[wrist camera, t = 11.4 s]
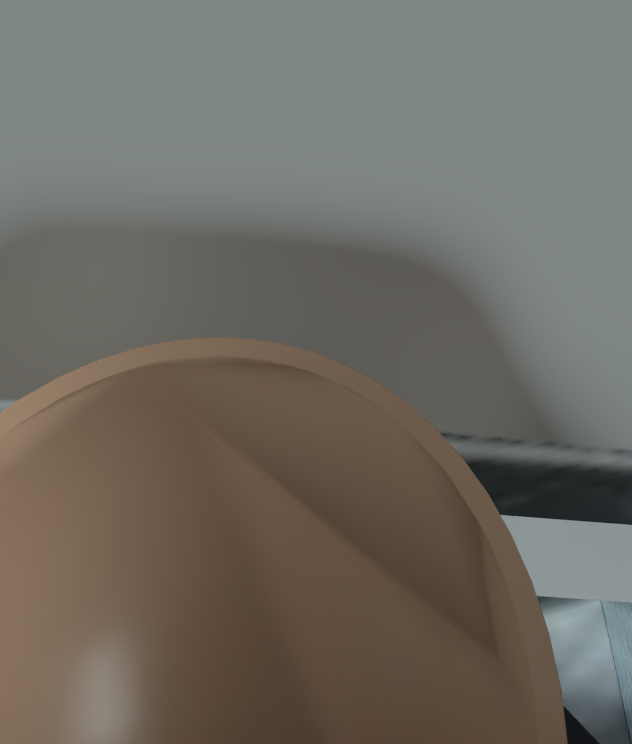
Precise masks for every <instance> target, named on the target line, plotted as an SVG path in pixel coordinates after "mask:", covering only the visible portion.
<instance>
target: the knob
mask: <svg viewBox="0 0 632 744" xmlns="http://www.w3.org/2000/svg"><path fill="white" fill-rule="evenodd" d="M0 744H568V743H567V734H566V726H565V717H564V709H563V700H562V692H561V687H560V683H559V678H558V673H557V669H556V664H555V660H554V655H553V650H552V646H551V641H550V637H549V632H548V629H547V626H546V623H545V620H544V617H543V614H542V611H541V608H540V605H539V602H538V598H537V595H536V592H535V589H534V586H533V583H532V580H531V578H530V576H529V573H528V571H527V569H526V567H525V564H524V562H523V560H522V557H521V555H520V553H519V551H518V548H517V546H516V544H515V542H514V539H513V537H512V535H511V533H510V531H509V529H508V528H507V526H506V524H505V522H504V521H503V519H502V517H501V515H500V514H499V512H498V510H497V508H496V507H495V505H494V503H493V501H492V500H491V498H490V496H489V494H488V493H487V491H486V490H485V489H484V487H483V486H482V484H481V483H480V482H479V480H478V479H477V478H476V476H475V475H474V473H473V472H472V471H471V469H470V468H469V466H468V465H467V464H466V462H465V461H464V459H463V458H462V457H461V456H460V455H459V454H458V453H457V452H456V450H455V449H454V448H453V447H452V446H451V445H450V444H449V443H448V442H447V440H446V439H445V438H444V437H443V436H442V435H441V434H440V433H439V432H438V430H437V429H436V428H435V427H433V426H432V425H431V424H430V423H429V422H428V421H427V420H425V418H423V417H422V416H421V415H420V414H419V413H418V412H417V411H415V410H414V409H413V408H412V407H411V406H410V405H409V404H408V403H406V402H405V401H404V400H402V399H400V398H399V397H398V396H396V395H395V394H394V393H392V392H390V391H389V390H388V389H386V388H385V387H383V386H382V385H380V384H379V383H378V382H376V381H375V380H373V379H371V378H369V377H367V376H365V375H363V374H361V373H360V372H358V371H356V370H354V369H352V368H350V367H348V366H346V365H345V364H342V363H340V362H337V361H334V360H332V359H329V358H327V357H324V356H322V355H319V354H316V353H314V352H311V351H307V350H304V349H299V348H296V347H292V346H288V345H284V344H280V343H276V342H268V341H261V340H253V339H246V338H210V337H209V338H197V339H186V340H175V341H169V342H164V343H159V344H154V345H149V346H144V347H140V348H135V349H132V350H129V351H125V352H122V353H119V354H116V355H113V356H110V357H107V358H104V359H100V360H97V361H95V362H93V363H90V364H88V365H86V366H84V367H81V368H79V369H77V370H75V371H72V372H70V373H68V374H65V375H63V376H61V377H59V378H57V379H55V380H53V381H51V382H50V383H48V384H46V385H44V386H43V387H41V388H39V389H37V390H35V391H34V392H32V393H30V394H28V395H26V396H25V397H23V398H21V399H20V400H18V401H17V402H15V403H14V404H12V405H11V406H10V407H8V408H7V409H5V410H4V411H2V412H1V413H0Z"/></svg>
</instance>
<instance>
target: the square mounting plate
mask: <svg viewBox="0 0 632 744" xmlns="http://www.w3.org/2000/svg"><path fill="white" fill-rule="evenodd" d="M501 517H502V519H503V521H504V522H505V524H506V526H507V528H508V529H509V531H510V533H511V535H512V537H513V539H514V542H515V544H516V546H517V548H518V551H519V553H520V555H521V557H522V560H523V562H524V564H525V567H526V569H527V571H528V573H529V576H530V578H531V580H532V583H533V586H534V589H535V592H536V595H537V596H546V597H559V598H573V599H587V600H601V601H602V605H603V610H604V614H605V619H606V624H607V629H608V633H609V638H610V643H611V648H612V652H613V657H614V662H615V667H616V671H617V676H618V681H619V685H620V690H621V695H622V700H623V704H624V709H625V714H626V719H627V723H628V728H629V733H630V738H631V742H632V525H625V524H612V523H599V522H586V521H572V520H559V519H546V518H533V517H520V516H507V515H501Z"/></svg>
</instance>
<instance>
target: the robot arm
mask: <svg viewBox="0 0 632 744" xmlns="http://www.w3.org/2000/svg"><path fill="white" fill-rule="evenodd" d="M563 709H564V717H565V726H566V734H567V743H568V744H600V743H599V742H598V741H597V740H596V739H595V738H594V737H593V736H592V735H591V734H590V733H589V732H588V731H587V730H586V729H585V728H584V727H583V726H582V725H581V724H580V723H579V721H578V720H577V719H576V718H575V717H574V716H573V715H572V714H571V713H570V712H569V711H568V710H567V709H566V708H565V707H564V706H563Z"/></svg>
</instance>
